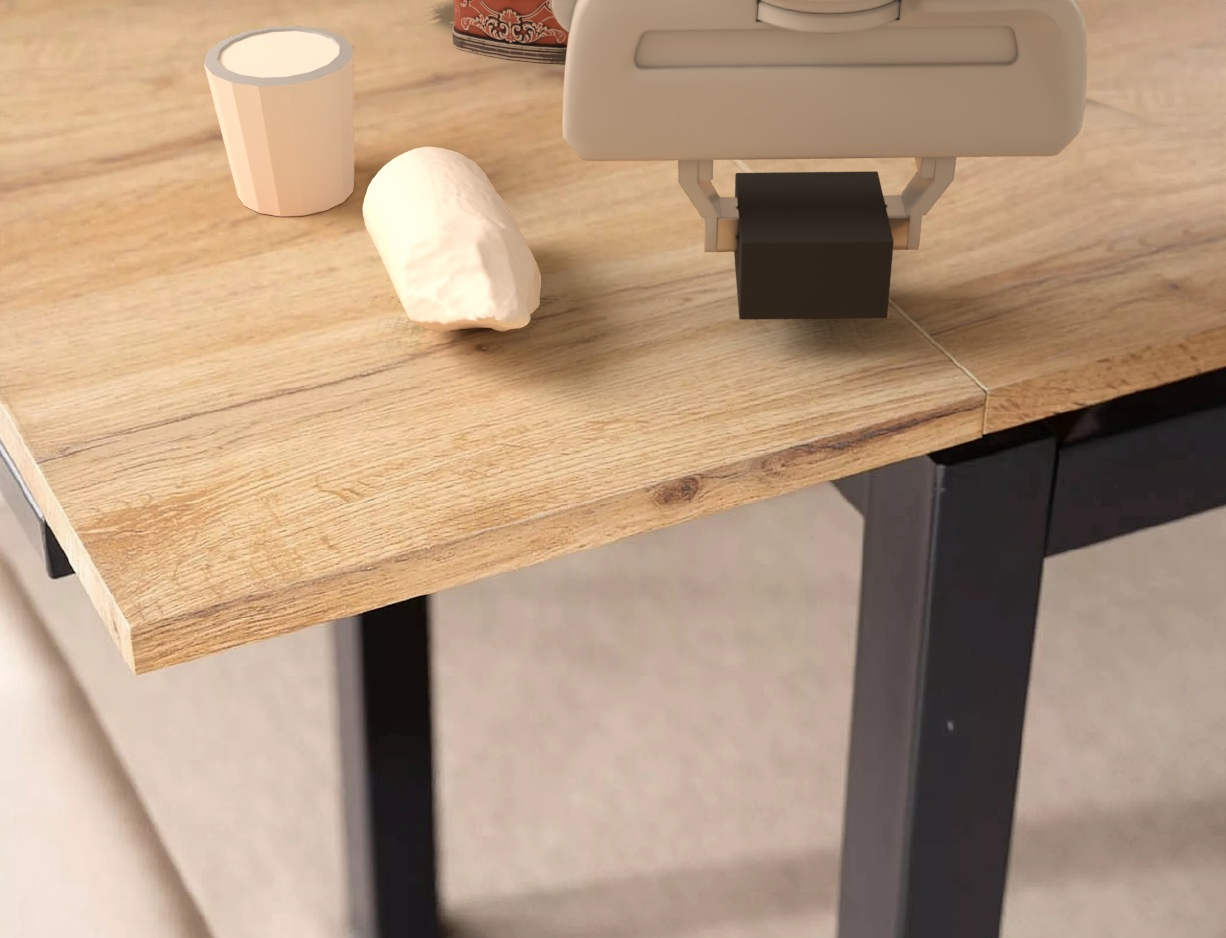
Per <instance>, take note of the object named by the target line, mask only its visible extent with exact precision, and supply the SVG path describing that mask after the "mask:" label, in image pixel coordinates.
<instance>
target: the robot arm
mask: <svg viewBox="0 0 1226 938" xmlns="http://www.w3.org/2000/svg"><path fill="white" fill-rule="evenodd" d="M549 1H550V7H551V10H552V13H553V15H554V17H555V19H556V21H557V22H558V23H559V25H560V26H561V27H562V28H563V29H564V30H566V31H567V32H568V33H569V36H568V44H567V51H566V61H565V64H564V72H563V73H564V74H563V75H564V76H563V91H562V119H561V125H562V127H561V128H562V138H563V140H564V142H565V143H566V144H567V145H568V147H570V149H571V150H572V151H573V152H574V153H575V154H576V155H577V156H578V158H580V159H581V160H583V161H585V162H636V161H637V162H648V161H649V162H650V161H651V162H653V161H677V181H678V184H679V185H680V188H681V189H682V190H683V191H684V193H685V194H686V196H687V198H688V199H689V201H690V202H691V203H692V205H693V207H694V208H695V209H696V212H698V214H699V216H700V217H701V218H702V219H703V246H704V247H703V249H704V250H703V251H704V253H734V252H738V244H739V239H738V234H739V210H738V198H737V197H735V196H734V197H733V196H732V197H731V196H720V195H719V193H718V191H717V189H716V188H715V186H714V185H713V183H712V180H713V179H714V161H734V160H735V161H736V160H737V161H738V160H739V161H740V160H741V161H744V160H745V161H747V160H748V161H749V160H751V161H752V160H821V159H822V160H824V159H825V160H826V159H829V160H830V159H833V160H834V159H837V160H838V159H902V158H903V159H914V160H915V161H914V162H915V164H916V168H917V170H916V172H915V174H914V175H913V176H912V177H911V180H910V181H909V182H908V184H907V185H906V187H905V188H904V189H903V191H901V194H897V195H896V194H895V195H893V194H892V195H883V197H884V201H885V206H886V210H887V215H888V219H889V223H890V228H891V232H892V237H893V241H894V244H893V251H918V250H919V248H920V243H921V233H922V223H923V216H926V215H927V214H928V213H929V212H930V210H931V209H932V208H933V207H934V205H935V204H936V203H937V202H938V200H939V199H940V198H941V197H942V196H943V194H944V193H945V191H946V190H947V189H948V188H949V187H950V185H951V184H952V183H953V182H954V179H955V171H956V163H957V158H1003V157H1004V158H1006V157H1007V158H1009V157H1010V158H1011V157H1013V158H1015V157H1018V158H1019V157H1054V156H1057V155H1059V154H1061V152H1063V151H1064V150H1065V149H1066V148H1067V147H1068V146H1069V145H1070V144H1071V143H1072V142H1073V141H1074V140H1075V139H1076V138H1077V136H1079V135H1080V133H1081V131H1082V127H1083V121H1084V117H1085V108H1086V107H1085V106H1086V96H1087V82H1088V34H1087V33H1088V32H1087V24H1086V19H1085V14H1084V11H1083V9H1082V6H1081V5H1080V2H1079V0H549Z"/></svg>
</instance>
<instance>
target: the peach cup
mask: <svg viewBox="0 0 1226 938" xmlns="http://www.w3.org/2000/svg"><path fill="white" fill-rule="evenodd" d="M203 65H204V69H205V73H206V78H207V82H208V84H209V85H208V86H209V89H210V92H211V98H212V101H213V106H214V110H215V113H216V117H217V120H218V124H219V128H220V132H221V136H222V140H223V144H224V148H225V152H226V155H227V156H226V157H227V159H228V163H229V168H230V171H231V175H232V179H233V183H234V187H235V190H236V195H237V197H238V199H239V200H240V202H241V204H243V206H244V207H246V208H248V209H250V210H251V211H255V212H256V213H258V214H263V215H269V216H274V217H302V216H308V215H313V214H316V213H321V212H325V211H328V210H330V209H333V208H334V207H336V206H338V205H340V204H342V203H344V202H345V201H346V200H347V199H348V198H349V197H350V196H351V195H352V194H353V193H354V187H355V104H354V103H355V93H354V92H355V90H354V85H355V84H354V83H355V80H354V78H355V77H354V74H355V73H354V69H355V67H354V65H355V64H354V45H353V44H352V43H351V42H350V41H349V40H348V39H347V38H346V37H345V36H344V35H341V34H339V33H336V32H333V31H331V30H328V29H325V28H319V27H313V26H312V27H311V26H305V25H286V26H285V25H284V26H282V25H281V26H268V27H262V28H258V29H252V30H246V31H242V32H240V33H237V34H235V35H232V36H230V37H226V38H224V39H222V40H220V41H218V42H217V43H216V44H215V45H214V46H212V47H211V48H210V49H209V50H208V51H206V54H205V58H204V61H203Z"/></svg>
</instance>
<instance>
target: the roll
mask: <svg viewBox="0 0 1226 938" xmlns="http://www.w3.org/2000/svg"><path fill="white" fill-rule="evenodd" d="M368 184H369V185H368V186H367V190H366V193H365V195H364V198H363V204H362V208H361V209H362V217H363V221H364V226H365V228H366V230H367V232H368V234H369V237H370V238H371V240H372V242H373V244H374V246H375V248H376V250H377V252H378V254H379V256H380V259H381V260H382V263H383V266H384V268H385V269H386V272H387V274H388V276H389V278H390V282H391V283H392V286H393V288H394V290H395V292H396V295H397V297H398V299H399V300H400V303H401V305H402V308H403V309H404V311H405V313H406V315H407V317H408V319H409V320H410V321H412V322H413V323H414V324H415V325H416V326H418V327H421V328H422V329H426V330H430V331H434V332H439V333H445V332H450V331H459V330H463V329H464V330H467V329H469V330H470V329H486V328H488V329H492V330H495V331H498V332H506V331H509V330H515V329H521V328H524V327H526V326H527V325H528V324H529V323H530V322H531V315H532V314H533V313H534V312H535V311H536V310H537V309H539V307H540V304H541V300H540V297H541V290H542V275H541V271H540V268H539V265H538V263H537V261H536V259H535V257H534V254H533V252H532V250H531V248H530V246H529V245H528V243H527V241H526V238H525V237H524V235H523V233H522V230H521V229H520V226H519V223H518V221H517V220H516V218H515V216H514V215H513V213H512V211H511V209H510V208H509V206H508V205H507V203H506V201H505V200H504V198H503V197H502V196H500V194H498V192H497V191H496V188H495V187H494V186H493V184H492V182H491V181H490V179H489V177H488V176H487V175H486V173H485V171H483V169H482V168H481V167H480V165H478V164H477V163H476V162H475V161H473V160H472V159H470V158H469V157H467V156H465V155H464V154H461V153H460V152H457V151H455V150H451V149H447V148H443V147H438V146H437V147H435V146H421V147H415V148H413V149H410V150H407V151H406V152H403V153H401V154H400V155H398V156H396V157H394V158H392V159H391V160H390V161H388V162H387V163H386V164H385V165H384V166H383V167H382V168H381V169H379V170H378V172H377V173H376V175H375V176H374V177H373V178H372V179H371V181H370V183H368Z"/></svg>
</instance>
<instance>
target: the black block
mask: <svg viewBox="0 0 1226 938" xmlns="http://www.w3.org/2000/svg"><path fill="white" fill-rule="evenodd" d="M883 196H884V193H883V188H882V183H881V180H880V175H879V172H878V171H877V170H875V171H874V170H873V171H869V170H867V171H795V172H794V171H792V172H791V171H790V172H789V171H787V172H786V171H785V172H784V171H782V172H777V171H775V172H772V171H771V172H735V176H734V197H737V198H738V210H739V234H738V239H739V244H738V252H733V254H734V268H735V270H734V271H735V280H736V295H737V306H738V319H739V320H742V321H743V320H745V321H747V320H748V321H749V320H750V321H751V320H856V319H857V320H859V319H860V320H861V319H862V320H863V319H864V320H866V319H870V320H871V319H872V320H873V319H875V320H877V319H887V318H888V313H889V300H890V290H891V289H890V288H891V278H892V266H893V253H894V250H893V244H894V241H893V237H892V232H891V228H890V223H889V219H888V215H887V210H886V206H885V201H884V197H883Z"/></svg>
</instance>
